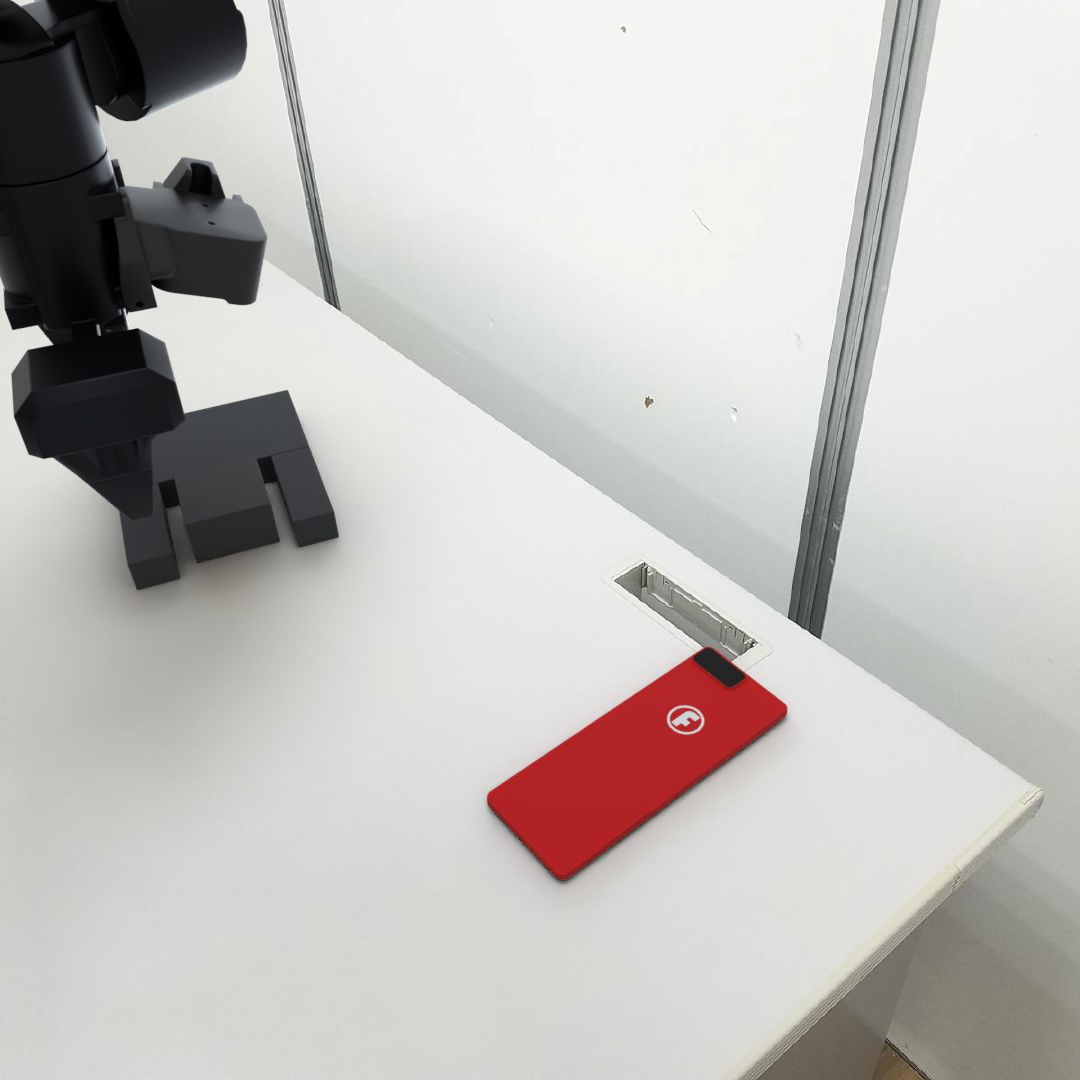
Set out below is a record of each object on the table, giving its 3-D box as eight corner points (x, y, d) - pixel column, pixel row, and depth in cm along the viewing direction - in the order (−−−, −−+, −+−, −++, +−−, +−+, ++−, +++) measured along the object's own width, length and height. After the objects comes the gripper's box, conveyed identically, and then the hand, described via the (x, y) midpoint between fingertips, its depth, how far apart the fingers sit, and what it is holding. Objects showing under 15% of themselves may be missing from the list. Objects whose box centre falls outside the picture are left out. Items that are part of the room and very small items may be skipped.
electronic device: (561, 885, 51) (790, 714, 57) (561, 878, 50) (791, 707, 57) (483, 801, 54) (707, 650, 61) (482, 794, 54) (708, 642, 61)
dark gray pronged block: (136, 590, 66) (127, 564, 65) (115, 454, 76) (106, 430, 75) (339, 537, 69) (334, 511, 68) (293, 413, 79) (287, 389, 78)
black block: (196, 563, 68) (184, 525, 66) (185, 513, 71) (173, 475, 69) (280, 541, 69) (270, 503, 67) (264, 493, 72) (255, 455, 70)
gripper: (274, 214, 42) (333, 534, 53) (200, 62, 56) (258, 341, 66) (-46, 271, 39) (82, 598, 50) (-44, 96, 53) (57, 382, 63)
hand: (132, 462), depth 57 cm, fingers open, 9 cm apart
